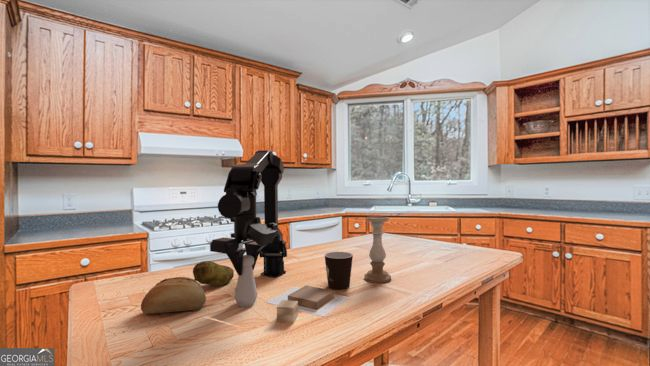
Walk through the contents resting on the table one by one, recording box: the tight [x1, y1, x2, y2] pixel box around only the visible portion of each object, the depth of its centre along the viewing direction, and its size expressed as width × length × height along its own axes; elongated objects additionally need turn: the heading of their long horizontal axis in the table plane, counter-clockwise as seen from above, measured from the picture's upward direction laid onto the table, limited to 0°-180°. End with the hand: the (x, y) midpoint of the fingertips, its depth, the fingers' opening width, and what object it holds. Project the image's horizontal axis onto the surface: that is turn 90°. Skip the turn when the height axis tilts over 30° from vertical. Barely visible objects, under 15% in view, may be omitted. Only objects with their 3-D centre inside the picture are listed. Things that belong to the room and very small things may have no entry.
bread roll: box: [140, 276, 207, 315], centre depth 80 cm, size 10×15×8 cm, turn 110°
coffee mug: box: [324, 251, 353, 291], centre depth 97 cm, size 12×9×10 cm
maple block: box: [276, 300, 299, 324], centre depth 73 cm, size 4×4×4 cm
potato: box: [192, 260, 235, 287], centre depth 99 cm, size 8×13×8 cm, turn 121°
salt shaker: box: [234, 254, 258, 308], centre depth 83 cm, size 6×6×13 cm
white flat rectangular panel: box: [264, 286, 350, 317], centre depth 85 cm, size 18×14×1 cm
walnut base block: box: [288, 285, 335, 310], centre depth 84 cm, size 9×9×2 cm
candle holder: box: [363, 215, 392, 284], centre depth 103 cm, size 9×9×20 cm
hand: (245, 272), depth 82 cm, fingers closed on salt shaker, 4 cm apart
